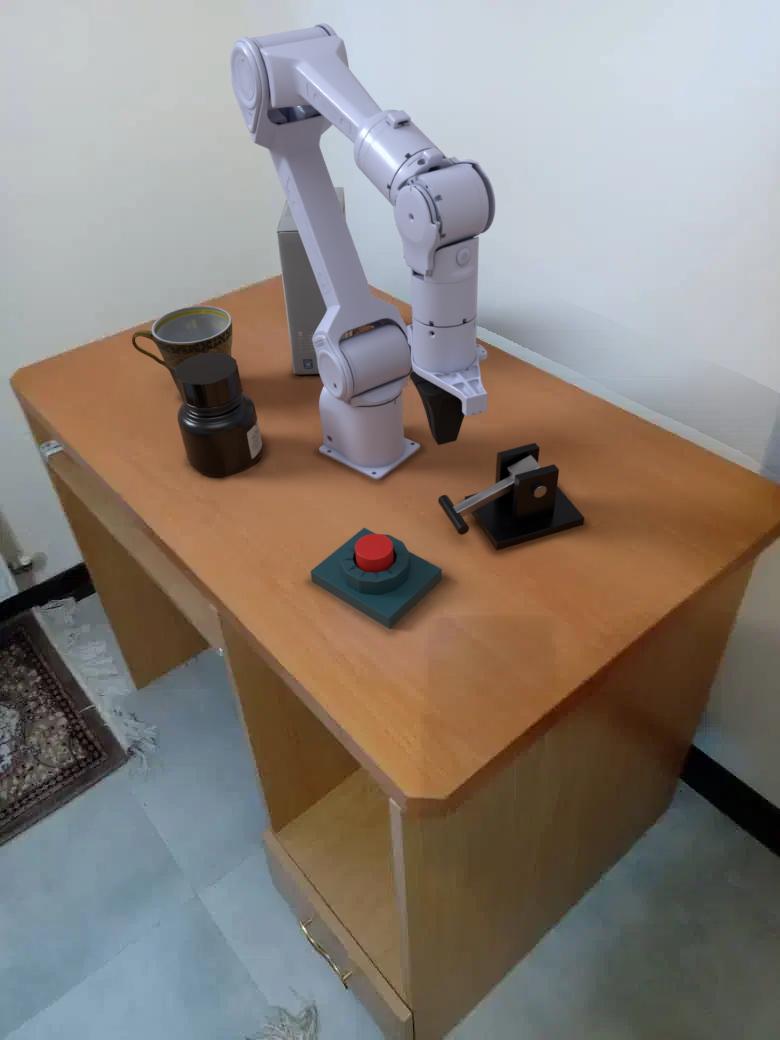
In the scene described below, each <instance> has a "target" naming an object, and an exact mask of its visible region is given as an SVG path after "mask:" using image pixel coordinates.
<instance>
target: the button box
mask: <svg viewBox="0 0 780 1040" xmlns="http://www.w3.org/2000/svg"><path fill="white" fill-rule="evenodd" d="M369 534H376V533H375V532H373V531H372V530H370V529H368V528H367V527H363V528H361V529H360V530H359V531H358V532H356V534H354V535H352V537H350V538H349V539H348V540H347V541H346V542H344V543H343V544H342V545H341V546H340V547H338V548H337V549H336V550H334V552H332V553H331V554H330V555H328V556H327V557H326V558H325V559H324V560H322V561H321V562H320V563H318V564H317V565H316V566H314V568H312V569H311V570H310V578H311V583H313V584H315V585H317V586H318V587H320V588H322V589H323V590H324V591H326V592H328V593H329V594H331V595H333V596H335V597H336V598H338V599H340V600H341V601H343V602H344V603H346V604H347V605H349V606H351V607H353V608H354V609H355V610H357V611H359V612H361V613H362V614H364V615H366V616H367V617H369V618H371V619H372V620H374V621H376V622H377V623H379V624H380V625H382V626H383V627H385V628H387V629H388V630H391V629H392V628H393V627H394V626H395V625H396V624H397V623H398V622H399V621H400V620H401V619H402V618H404V616H405V615H407V613H409V611H410V610H412V609H413V608H414V607H415V606H416V605H417V604H418V603H419V602H420V601H421V600H422V599H423V598H424V597H425V596H426V595H427V594H429V592H431V591H432V590H433V589H434V588H435V587H436V586H437V585H438V584H439V583H440V582H441V581H442V579H443V577H442V576H443V572H442V571H443V570H442V568H441V567H439V566H437V565H435V564H433V563H431V562H429V561H428V560H426V559H424V558H422V557H421V556H418V555H416V554H414V553H413V552H411V551H409V550H408V548H407V547H406V545H405V543H404V542H403V541H402V540H400V539H398V538H396V537H394V536H393V535H390V534H383V533H381V534H382V535H385V536H387V537H388V538H389V539H390V540H391V541H392V543H393V555H394V561H393V563H392V565H391V566H390V567H389V568H388V569H386V570H384V571H381V572H377V573H373V572H366V571H364V570H362V569H361V568H360V567H359V566H358V565H357V562H356V553H355V545H356V543H357V541H358V540H359V539H360V538H361V537H363V536H365V535H369Z"/></svg>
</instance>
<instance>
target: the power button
mask: <svg viewBox="0 0 780 1040" xmlns="http://www.w3.org/2000/svg"><path fill="white" fill-rule="evenodd" d="M382 534H383V533H375V534H369V535H365V536H363V537H361V538H360V539H359V540H358V541H357V543H356V545H355V553H356V562H357V565H358V566H359V567H360V568H361V569H362V570H364V571H366V572H373V573H377V572H381V571H384V570H386V569H388V568H389V567H390V566H391V565H392V563H393V561H394V555H393V543H392V541H391V540H390V539H389V538H388V537H387V536H385V535H386V534H385V535H382Z"/></svg>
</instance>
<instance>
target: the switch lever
mask: <svg viewBox="0 0 780 1040" xmlns="http://www.w3.org/2000/svg"><path fill="white" fill-rule="evenodd" d="M539 468H542V466H541V465H540V463H539V462H538V463H537V461H536V460H535V459H534V458H533V457H532V456H531V455H530V456H528V457H526V458H524V459H522V460H520V461H519V462H517V463H515V464H513V465H511V466H509V467H508V468H507V469H508V472H509V475H510V476H509V477H507V478H505V479H503V480H502V481H500V482H498V483H496V484H495V483H494V484H492V485H490V486H489V487H487V488H485V489H483V490H480V491H479V492H477V494H476V493H475V494H476V495H474V496H472V497H470V498H468V499H466V500H465V499H464V500H463V501H460V502H459V503H457V504H454V503H453V501H452V500H451V498H450V496H449V495H448V494H442V495H440V496H439V497H438V499H437V502H438V504H439V506H440V508H441V510H442V511H443V512H444V514H445V515H446V517H447V518H448V520H449V521H450V523H451V524H452V526H453V528H454V529H455V531H456V532H457V533H458V534H459V535H460V536H462V535H466V534H467V533H468V532H469V530H470V527H469V525H468V523H467V522H466V521H465V519H464V517H466V516H468V515H469V514H471V512H473V511H475V510H477V509H479V508H481V507H482V506H484V505H486V504H488V503H490V502H492V501H494V500H495V499H497V498H499V497H501V496H503V495H505V494H507V493H508V492H510V491H512V490H514V481H515V475H517V474H520V473H524V472H528V471H531V470H535V469H539Z"/></svg>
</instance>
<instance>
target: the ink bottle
mask: <svg viewBox="0 0 780 1040" xmlns="http://www.w3.org/2000/svg"><path fill="white" fill-rule="evenodd" d="M175 373H176V378H177V382H178V386H179V390H180V393H179V395H180V394H181V395H180V397H181V400H182V404H181V405H180V406H179V409H178V411H177V416H176V417H177V423H178V427H179V431H180V435H181V439H182V442H183V446H184V450H185V453H186V458H187V460H188V463H189V465H190V466H191V467H192V469H194V470H195V471H196V472H198V473H200V474H202V475H205V476H210V477H226V476H231V475H234V474H237V473H240V472H242V471H245V470H248V469H249V468H250V467H252V466H253V465H255V464H256V463H257V462H258V461H259V459H260V458H261V456H262V454H263V442H262V441H263V440H262V437H261V430H260V425H259V421H258V414H257V410H256V406H255V404H254V401H253V400H252V398H251V397H250V396H249V395H248V394H246V393H245V392H243V385H242V382H241V381H242V380H241V376H240V371H239V366H238V362H237V359H235V358H234V357H233V356H232V355H231V356H230V355H226V354H222V353H205V354H198V355H196V356H193V357H190V358H187V359H186V360H185V361H183V362H182V363H180V364H179V365H178V367H177V369H176V370H175Z"/></svg>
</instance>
